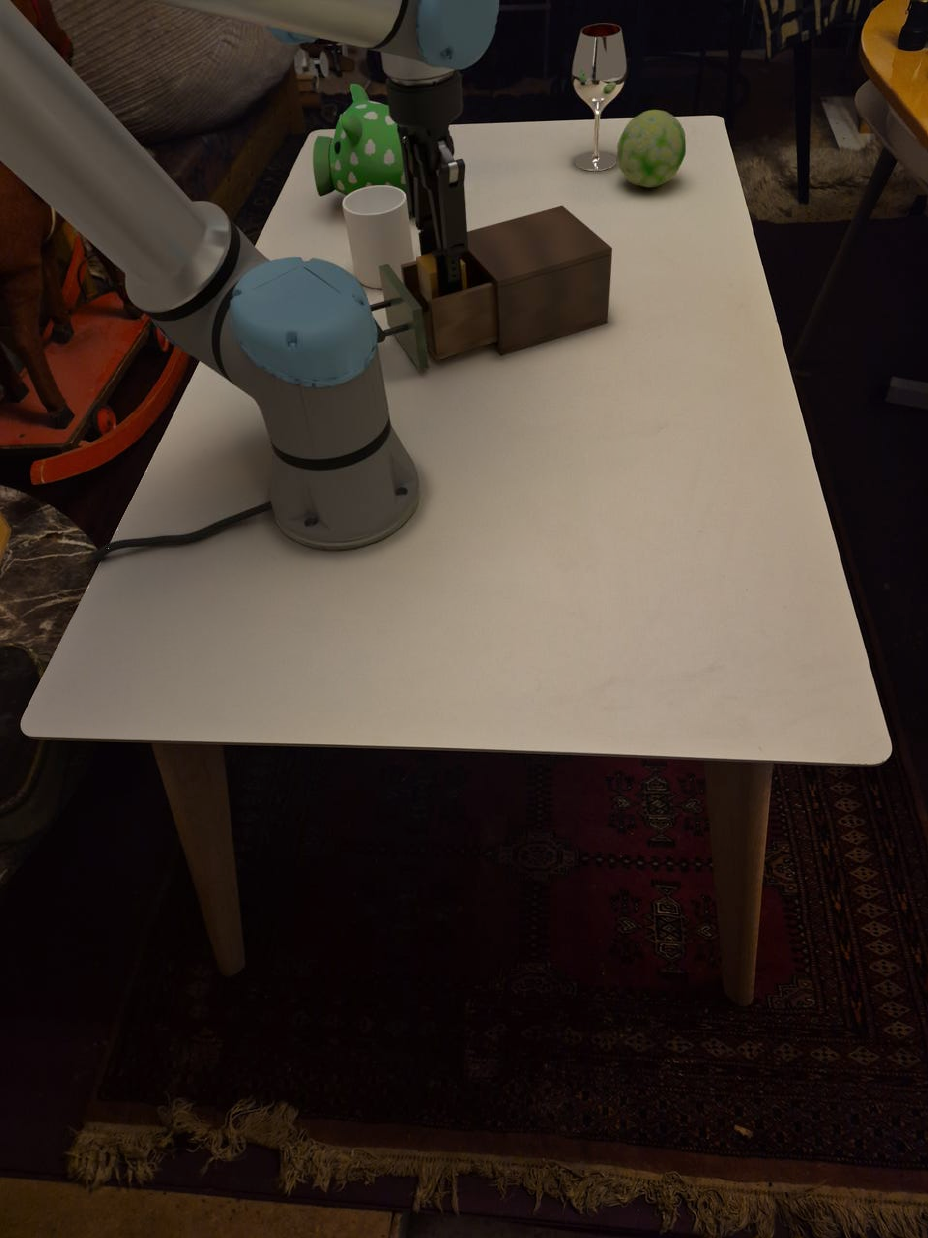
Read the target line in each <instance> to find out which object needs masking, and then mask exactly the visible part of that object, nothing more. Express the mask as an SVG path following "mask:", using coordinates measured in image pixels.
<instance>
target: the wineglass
mask: <svg viewBox="0 0 928 1238" xmlns="http://www.w3.org/2000/svg"><path fill="white" fill-rule="evenodd" d="M622 30H623V29H622V28H621V27H620V26H619V25H617V24H613V23H595V24H590V25H587V26H585V27H583V28H581V29H580V33H579V36H578V40H577V45H576V49H575V52H574V58H573V61H572V65H571V66H572V67H571V71H570V72H571V74H570V75H571V76H570V78H571V79H570V80H571V84H572V87H573V89H574V91H575V93H576V94H577V95H578V97H579V98H580V99H581V100H582V101H583V102H584V103H585V104H587V105H588V106H589V107H590V108H591V110H592V112H593V113H594V131H593V150H592V152H588V153H585V154H582V155H580V156H578V157H577V158H576V160H575V166H576V167H577V168H578V169H580V170H583V171H586V172H601V171H606V170H609V169H612V168H613V167H614V166H615V165H616V164H617V157H615V156H614V155H613V154H610V153H607V152H600V126H601V115H602V112H603V111H604V109H605V108H606V107H607V105H608V104H609V103H610V102H612V101H613V100H614V99H615V98H616V97H617V96H618V95H619V94H620V92H621V91H622V89H623V88H624V86H625V85H626V81H627V79H628V60H627V54H626V47H625V42H624V36H623V31H622Z"/></svg>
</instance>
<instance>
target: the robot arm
mask: <svg viewBox="0 0 928 1238" xmlns="http://www.w3.org/2000/svg"><path fill="white" fill-rule="evenodd" d="M143 1H146V2H149V3H154V4H157V5H158V4H159V5H163V6H168V7H173V8H178V9H182V10H187V11H192V12H196V13H200V14H205V15H210V16H213V17H219V18H224V19H228V20H233V21H239V22H242V23H247V24H251V25H256V26H262V27H265V28H266V29H267V30H268V32H269V33H270V35H272V36H273V37H274V38H275V39H276V40H277V41H279V42H280V43H282V44H284V45H288V46H296V45H300V44H304V43H311V44H313V43H315V42H316V41H317V40H318V39H322V40H326V41H331V42H336V43H341V44H345V45H350V46H354V47H359V48H364V49H367V50H370V51H374V52H378V53H380V57H381V65H382V70H383V72H384V74H386V76H387V77H386V79H385V91H386V99H387V105H388V107H389V115H390V117H391V119H392V120H393V121H394V122H395V123H397V132H398V135H399V139H400V144H401V149H402V157H403V166H404V174H405V182H406V190H407V198H408V206H409V214H410V216H409V218H410V219H414V226H415V228H416V229H417V231H420V232H418V241H419V251H420V252H419V253H420V256H422V255H426V254H430V253H432V255H433V257H434V258H435V260H436V270H437V279H438V289H439V297H442V296H445V295H449V294H452V293H456V292H459V291H463V286H462V273H461V260H460V254H461V253H465V252H468V238H467V232H468V225H467V224H468V223H467V210H466V206H467V205H466V193H465V192H466V191H465V178H466V163H465V160H464V158H459V159H455V158H454V155H455V144H454V139H453V136H452V135H451V131H450V129H449V128H450V125H451V124H452V123H453V122H454V120H457V119H458V118H459V117H460V116H461V115H462V112H463V110H464V98H463V97H464V95H463V82H462V81H463V80H462V73H461V72H460V71H459V70H464V69H467V68H468V67H470V66H472V65H474V64H475V63H477V62H478V61H479V60H480V59H481V58H482V57H483V55H484V54H486V51H487V50H488V48H489V47H490V44H491V43H492V40H493V38H494V35H495V32H496V25H497V22H498V15H499V11H500V0H143ZM0 162H1V163H2V164H4V165H5V166H6V167H7V168H8V169H9V170H10V171H11V172H12V173H13V174H14V175H15V176H17V177H18V178H19V179H20V180H21V181H22V182H23V183H24V184H26V185H27V186H28V187H29V188H30V189H31V190H32V191H33V192H34V193H35V194H37V195H38V196H39V197H40V198H41V200H43V201H44V202H45V203H46V204H48V205H49V206H50V207H51V208H52V209H53V210H54V211H55V212H56V213H57V214H59V215H60V216H61V217H62V218H63V219H64V220H65V221H66V222H67V223H68V224H70V225H71V227H73V228H74V229H75V230H76V231H78V232H79V233H80V234H81V235H82V236H83V237H84V238H85V239H86V240H88V242H89V243H90V244H92V245H93V246H94V247H95V248H96V249H97V250H98V251H99V252H101V253H102V254H103V255H104V256H105V257H106V258H107V259H109V260H110V261H111V262H112V263H113V264H114V265H115V266H116V267H117V268H118V269H119V270H121V271H122V272H123V273H124V276H125V277H124V285H125V291H126V294H127V296H128V297H127V298H128V299H129V300H130V301H131V303H132V304H133V305H134V306H135V307H136V308H137V309H139V310H140V311H141V312H142V313H143V314H145V316H147V317H148V319H150V320H151V322H152V323H153V324H154V326H155V327H156V328H157V329H158V330H159V332H160V333H161V335H162V336H163V337H164V338H165V339H166V340H167V341H168V342H170V343H171V344H172V345H173V346H175V347H176V348H177V349H179V350H180V351H182V352H184V353H186V354H187V355H189V356H192V357H193V358H195V360H197V361H199V362H200V363H202V364H203V365H205V366H206V367H208V368H209V369H210V370H212V371H213V372H215V373H216V374H218V375H219V376H221V377H222V378H223V379H225V380H226V381H228V382H229V383H230V384H232V386H233V385H234V386H235V387H236V388H237V389H239V390H240V391H242V392H243V393H245V394H246V395H248V396H249V397H251V398H252V399H253V400H254V401H255V403H256V404H257V406H258V408H259V410H260V414H261V417H262V419H263V423H264V426H265V430H266V433H267V435H268V439H269V442H270V445H271V448H272V460H271V471H270V482H269V499H270V500H269V501H267V502H263V503H260V504H258V505H256V506H253V507H250V508H248V509H245V510H243V511H239V512H238V513H235V514H233V515H230V516H227V517H225V518H222V519H221V520H218V521H215V522H213V523H212V524H209V525H207V526H204V527H203V528H201V529H197V530H195V531H192V532H188V533H184V534H168V535H157V536H150V537H138V538H137V537H136V538H127V539H126V538H125V539H119V540H115V541H111V542H109V543H107V544H105V545H104V546H102V547H100V548H99V549H98V550H97V551H96V552H95V553H94V554H93V557H92V558H91V563H92V564H99V563H100V562H102V561H103V560H104V558H106V556H107V555H109V554H110V553H113V552H115V551H118V550H124V549H131V548H145V547H153V546H161V545H179V544H186V543H191V542H195V541H198V540H201V539H203V538H206V537H208V536H209V535H212V534H214V533H217V532H218V531H221V530H223V529H226V528H228V527H230V526H233V525H235V524H238V523H240V522H244V521H245V520H248V519H251V518H253V517H256V516H258V515H261V514H264V513H266V512H269V511H271V510H272V513H273V516H274V520H275V522H276V524H277V525H278V527H279V528H280V530H281V531H282V532H283V533H284V534H285V535H286V536H288V538H290V539H292V540H293V541H295V542H297V543H299V544H301V545H304V546H307V547H310V548H314V549H319V550H331V551H335V550H336V551H337V550H338V551H339V550H350V549H355V548H360V547H364V546H367V545H370V544H373V543H375V542H378V541H380V540H382V539H384V538H386V537H387V536H390V535H392V534H394V533H395V532H396V531H397V530H399V529H400V528H401V527H402V526H403V525H404V524H405V523H406V522H407V521H408V520H409V519H410V518H411V516H412V515H413V513H414V512H415V510H416V508H417V506H418V504H419V499H420V495H421V488H420V481H419V474H418V472H417V469H416V466H415V462H414V461H413V458H412V457H411V456H410V454H409V452H408V450H407V449H406V447H405V446H404V444H403V442H402V441H401V439H400V438H399V435H398V434H397V433H396V431H395V429H394V427H393V426H392V422H391V417H390V411H389V404H388V398H387V391H386V388H385V387H386V386H385V381H384V374H383V368H382V363H381V357H380V356H381V355H380V350H379V343H378V342H377V326H376V323H375V320H376V319H375V320H374V318H375V317H374V314H373V312H372V311H371V308H370V305H371V304H370V302H369V301H370V300H369V298H368V295H367V293H366V290H365V289H364V287H363V284H361V283H360V282H359V280H358V279H357V277H356V276H354V275H353V274H352V273H350V271H348V270H346V269H345V268H343V267H342V266H340V265H338V264H335V263H333V262H331V261H328V260H325V259H321V258H317V257H312V258H310V259H309V260H303V258H302V257H301V256H291V257H282V258H276V259H272V260H270V259H269V258H267V256H265V255H264V254H263V253H262V252H261V251H259V249H258V248H257V247H256V246H255V245H254V244H253V242H252V241H251V240H250V239H249V238H248V237H247V235H245V234H244V232H243V231H242V230H241V229H240V228H239V226H238V225H236V223H235V222H234V221H233V220H232V219H231V218H230V217H229V215H228V214H227V213H226V212H225V211H224V210H223V209H222V208H221V207H220V206H219V205H217V204H216V203H213V202H211V201H210V202H209V201H205V200H204V201H203V200H200V201H198V200H197V201H193V200H191V199H190V198H189V196H187V194H186V193H185V192H184V191H183V190H182V189H181V188H180V187H179V185H178V184H177V183H176V181H174V180H173V179H172V178H171V177H170V175H169V174H168V173H167V172H166V171H165V170H164V169H163V167H161V165H159V163H158V162H157V161H156V160H155V159H154V158H153V157H152V156H151V154H150V153H149V152H148V151H147V150H146V149H145V148H144V147H143V146H142V145H141V143H140V142H139V141H138V140H137V139H136V138H135V137H134V136H133V134H131V132H130V131H129V130H128V129H127V128H126V127H125V126H124V125H123V123H122V122H121V121H120V120H119V119H118V118H117V117H116V116H115V115H114V113H112V111H111V110H110V108H108V107H107V106H106V105H105V103H104V102H102V101H101V99H100V98H99V97H98V96H97V95H96V94H95V93H94V91H92V89H91V88H90V87H89V85H87V84H86V83H85V82H84V81H83V79H82V78H81V77H80V76H79V75H78V74H77V72H76V71H75V70H74V69H73V68H72V67H71V66H70V65H69V64H68V63H67V62H66V61H65V60H64V58H63V57H62V56H61V55H60V54H59V53H58V52H57V50H56V49H54V47H53V46H52V45H51V43H49V42H48V40H46V38H44V37H43V35H42V34H41V33H40V32H39V31H38V30H37V28H36V27H34V25H33V24H32V23H31V22H30V21H29V20H28V18H27V17H26V16H25V15H24V14H23V13H22V12H21V11H20V10H19V9H18V7H17V6H16V5H15V4H14V2H13V1H11V0H0ZM108 548H109V549H108Z"/></svg>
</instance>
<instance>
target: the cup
mask: <svg viewBox="0 0 928 1238" xmlns="http://www.w3.org/2000/svg"><path fill="white" fill-rule="evenodd" d="M341 204H342V205H341V206H342V210H343V216H344V222H345V226H346V232H347V237H348V243H349V249H350V254H351V260H352V266H353V272H354V275H355V278H356V279H357V280H358V282H359V283H360V284H361V285H362V286H365V287H368V288H370V289H378V290H379V289H380V290H382V285H381V278H380V272H379V266H381V265H385V264H389V266H390V267H391V268H392V270H393V271H394V272H395V274H396V275H397V276H398V277H399V279H400V280H401V281H402V283H403V280H402V272H401V265H402V264H406V263H409V262H413V261H415V257H414V256H415V255H414V249H413V247H414V246H413V240H412V232H411V225H410V224H411V223H410V216H409V215H408V207H407V199H406V194H405V193H404V192H403V191H402V190H401V189H399V188H396V187H393V186H384V185H379V186H370V187H365V188H361V189H358V190H356V191H354V192H352V193H350V194H349V195H347V196H346V195H345V197H344V198H343V200H342V203H341Z"/></svg>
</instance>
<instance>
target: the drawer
mask: <svg viewBox="0 0 928 1238" xmlns="http://www.w3.org/2000/svg"><path fill="white" fill-rule="evenodd" d="M460 259H461V260H462V261H463V262H464V263H465V268H466V282H467V289H466V290H463V291H459V292H456V293H452V294H449V295H445V296H442V297H438V298H435V299H432V300H429V303H428V302H427V301H426V299H425V298H424V297H423V295H422V294H421V293H420V288H419V279H418V271H417V262H416V260H414V261H413V262H409V263H406V264H402V265H401V272H402V280H403V283H402V281H401V280H400V279H399V277H398V276H397V275H396V274H395V272H394V271H393V270H392V268H391V267H390V266H389V264H385V265H381V266H379V272H380V278H381V285H382V289H381V290H382V291H381V292H382V297H383V301H379V302H376V303H373V304H370V308H371V311H372V313H373V312H376V311H380V310H383V309H385V316H386V321H387V322H386V323H387V326H388V327H389V328H387V329H383V328H382V327H381V326H380V324H379V322H378V321H377V320H376V318H375V317H374V320H375V323H376V326H377V342H378V344H381V343H383V342H384V341H385V340H386V337H390V336H394V337H396V338H397V340H398V342H399V343H400V344H401V346H402V348H403V349H404V351H405V352H406V353H407V354H408V356H409V358H410V359H411V360H412V362H413V363H414V365H415V366H416V367H417V369H418V370H419V371H420V372H421V371H424V370H428V369H430V363H429V356H428V355H429V353H428V349H429V351H430V352H431V353H432V355H433V356H434V358H435V359H436V361H437V360H441V359H444V358H448V357H450V356H454V355H457V354H460V353H464V352H468V351H470V350H475V349H477V348H480V347H483V346H487V345H491V343H493V342H497V341H498V336H497V316H496V296H495V284H494V283H493V282H492V281H491V280H490V278H489V277H488V276H487V275H486V274H485V273H484V272H483V271H482V270H481V269H480V268H479V266H478V265H477V264H476V263H475V262H474V261H473V260H472V259H471V258H470V257H469V255H468V254H467V253H466V252H465V253H461V254H460Z"/></svg>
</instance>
